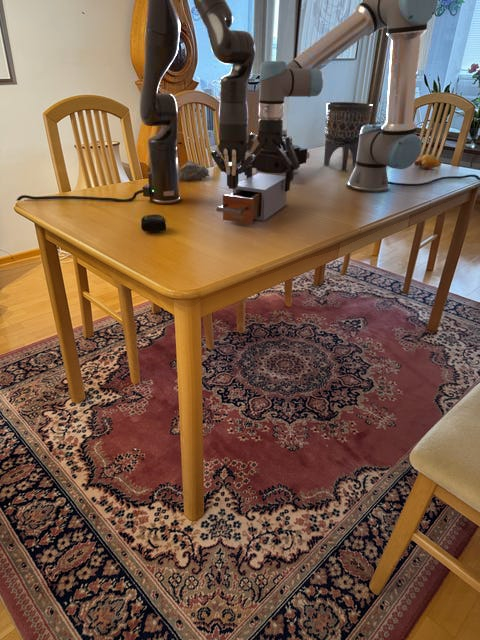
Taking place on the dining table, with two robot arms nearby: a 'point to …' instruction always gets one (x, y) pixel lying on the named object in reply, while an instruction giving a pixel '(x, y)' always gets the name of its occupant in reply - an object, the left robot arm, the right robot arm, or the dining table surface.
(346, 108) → the planter
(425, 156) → the toy
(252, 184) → the grey rectangular box
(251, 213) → the drawer
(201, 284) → the dining table surface
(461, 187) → the dining table surface
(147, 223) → the tape measure
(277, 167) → the mechanical component
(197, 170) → the rock
